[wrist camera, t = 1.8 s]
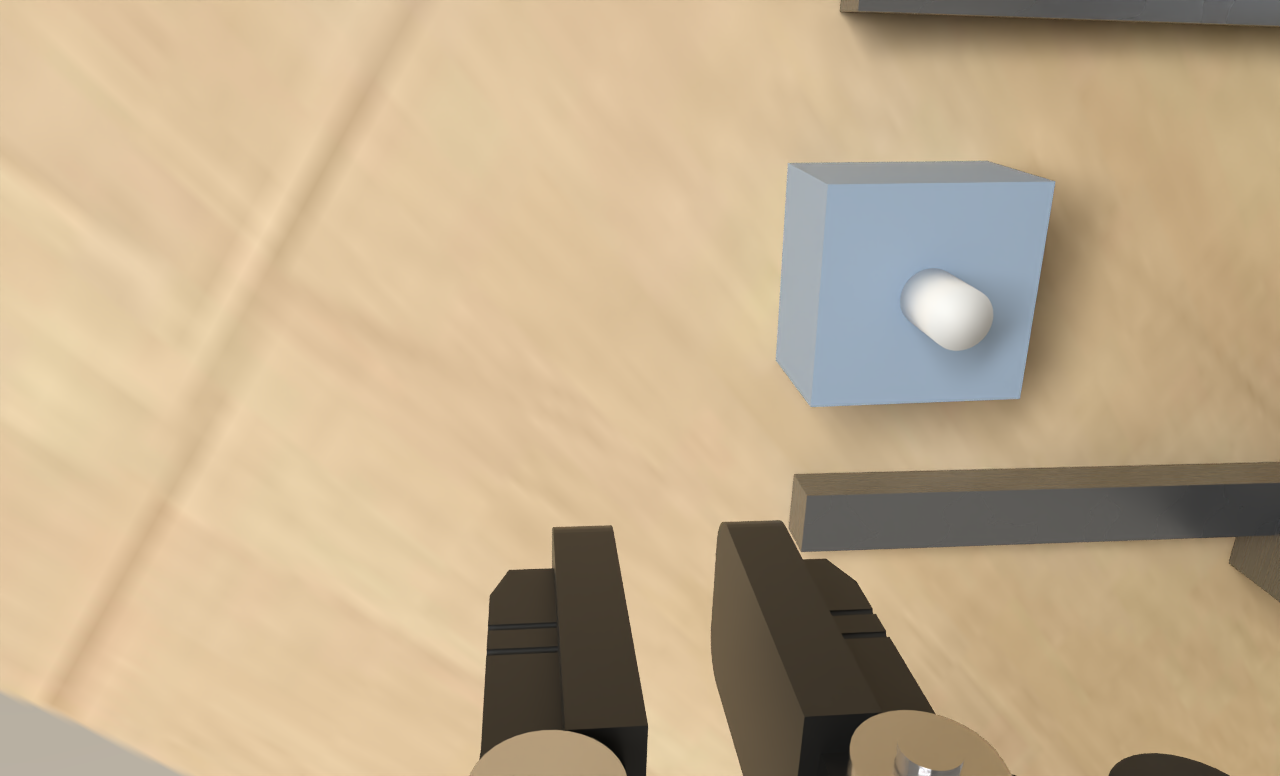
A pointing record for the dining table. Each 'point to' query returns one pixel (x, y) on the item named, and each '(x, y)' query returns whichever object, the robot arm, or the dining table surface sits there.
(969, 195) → the housing block
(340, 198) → the dining table surface
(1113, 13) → the press frame
